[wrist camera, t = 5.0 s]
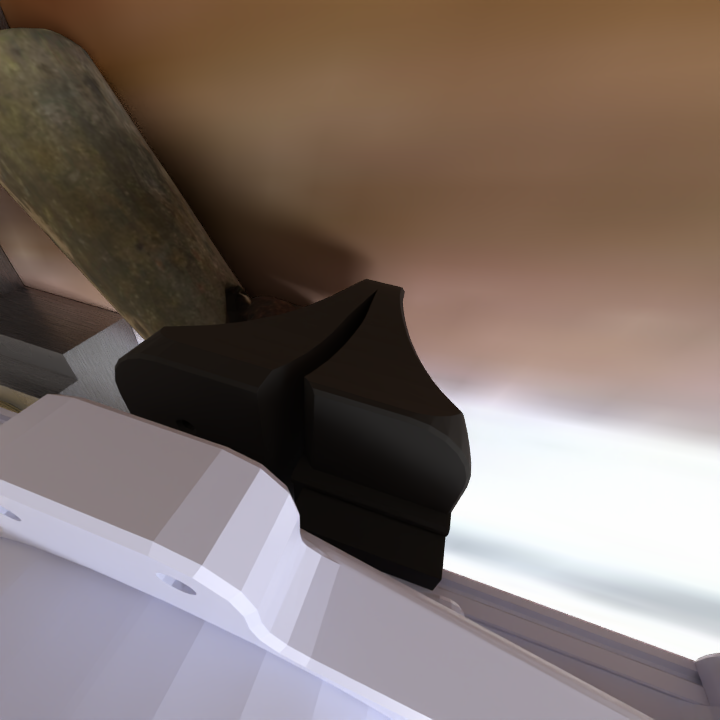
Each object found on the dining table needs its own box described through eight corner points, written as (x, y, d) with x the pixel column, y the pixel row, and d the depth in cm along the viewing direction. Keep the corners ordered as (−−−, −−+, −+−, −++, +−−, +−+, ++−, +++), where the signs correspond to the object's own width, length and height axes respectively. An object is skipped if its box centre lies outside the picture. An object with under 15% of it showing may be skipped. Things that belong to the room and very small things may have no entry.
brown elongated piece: (62, 133, 13) (-156, 146, 8) (155, -9, 9) (-133, -113, 5) (312, 443, 20) (266, 535, 16) (414, 427, 17) (391, 538, 12)
